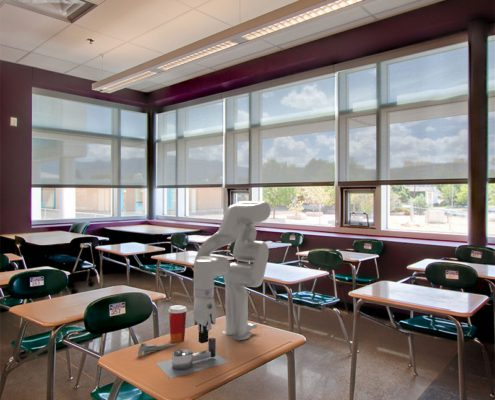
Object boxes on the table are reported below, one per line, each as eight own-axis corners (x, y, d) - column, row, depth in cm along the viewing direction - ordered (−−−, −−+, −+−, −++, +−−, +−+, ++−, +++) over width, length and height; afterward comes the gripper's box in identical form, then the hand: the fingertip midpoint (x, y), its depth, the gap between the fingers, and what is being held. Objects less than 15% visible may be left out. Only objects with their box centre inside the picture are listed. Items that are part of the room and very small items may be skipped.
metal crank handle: (210, 353, 140) (210, 335, 139) (219, 360, 134) (219, 341, 134) (169, 363, 131) (169, 344, 131) (176, 371, 125) (176, 351, 125)
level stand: (211, 353, 144) (211, 349, 144) (228, 366, 133) (228, 362, 133) (155, 367, 132) (155, 362, 132) (169, 382, 121) (169, 377, 121)
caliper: (139, 361, 137) (139, 344, 137) (138, 360, 137) (138, 343, 137) (184, 346, 152) (185, 330, 151) (183, 345, 152) (183, 330, 152)
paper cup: (179, 336, 162) (179, 303, 162) (190, 340, 156) (190, 307, 156) (164, 340, 156) (164, 307, 156) (175, 346, 151) (175, 311, 151)
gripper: (222, 295, 135) (221, 346, 135) (204, 287, 148) (203, 334, 148) (203, 298, 131) (203, 351, 131) (186, 289, 143) (185, 337, 143)
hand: (203, 341), depth 139 cm, fingers closed
